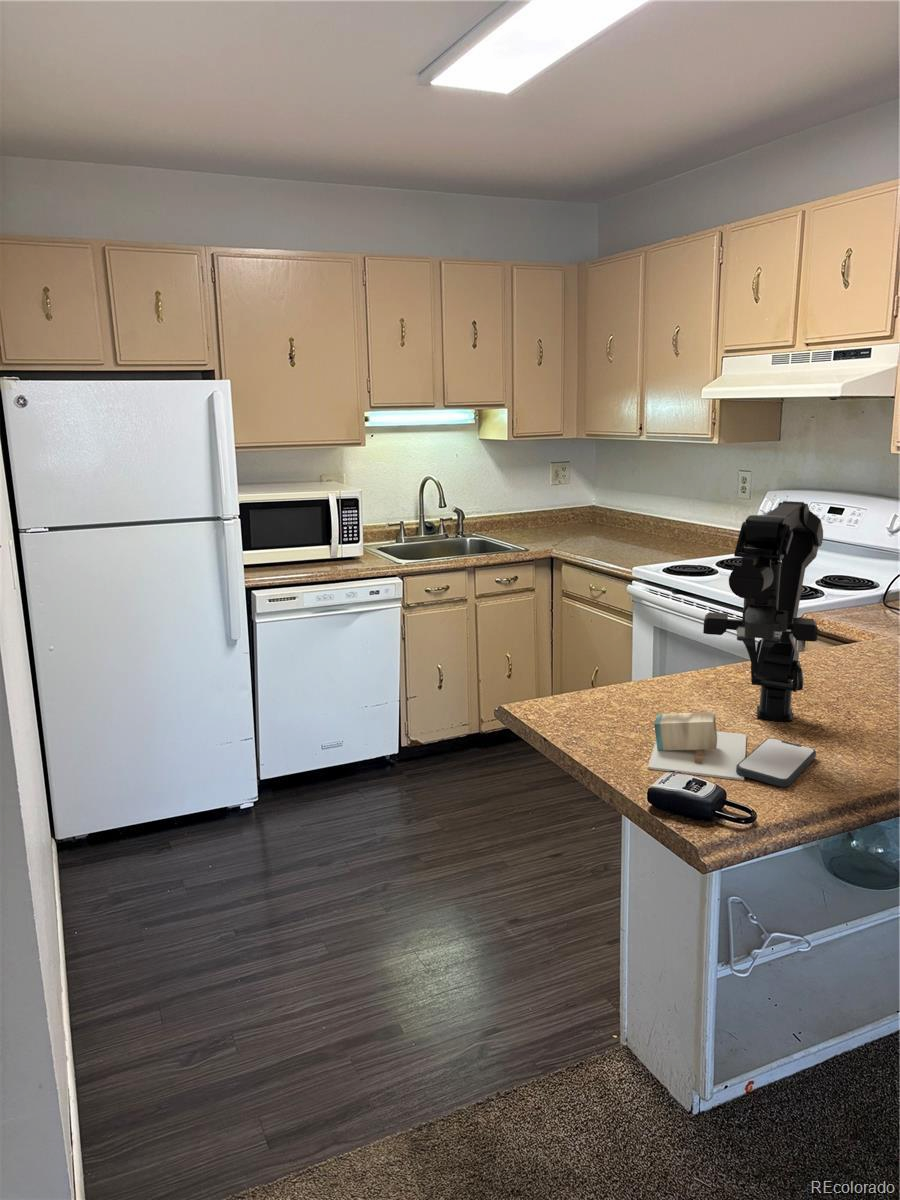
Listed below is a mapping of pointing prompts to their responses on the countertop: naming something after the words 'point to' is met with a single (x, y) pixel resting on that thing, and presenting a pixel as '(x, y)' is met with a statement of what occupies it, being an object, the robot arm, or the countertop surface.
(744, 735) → the grey mat
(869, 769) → the countertop surface
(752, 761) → the phone case
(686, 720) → the birch block
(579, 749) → the countertop surface
